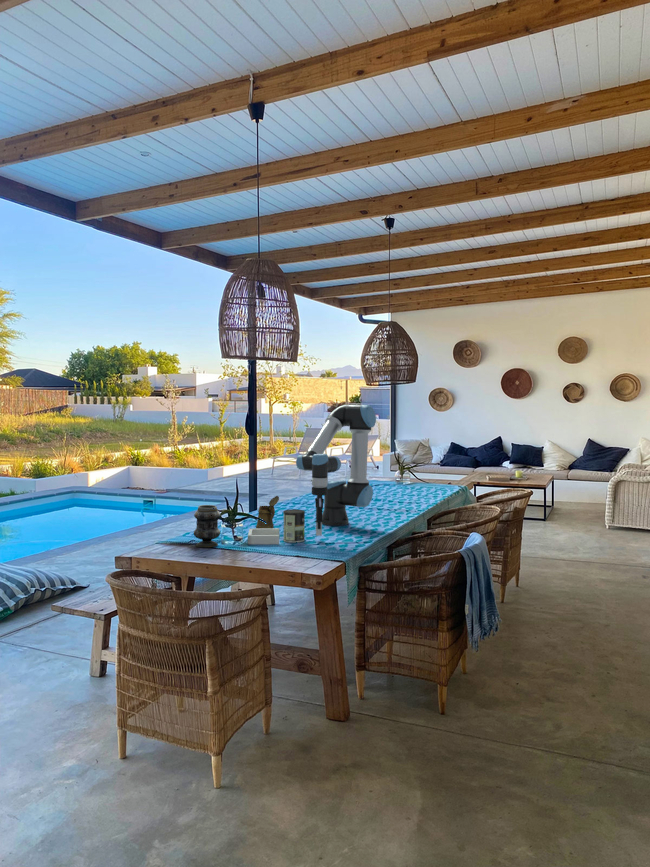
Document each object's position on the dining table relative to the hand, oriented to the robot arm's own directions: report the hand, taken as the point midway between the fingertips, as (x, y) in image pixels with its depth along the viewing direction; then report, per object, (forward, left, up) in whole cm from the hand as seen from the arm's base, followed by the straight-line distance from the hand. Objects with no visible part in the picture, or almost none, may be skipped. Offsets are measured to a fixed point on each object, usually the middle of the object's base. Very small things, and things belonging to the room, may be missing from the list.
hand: (318, 535), depth 296 cm
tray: (+25, 0, -2) cm, 26 cm away
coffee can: (+12, 0, -3) cm, 12 cm away
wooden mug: (+25, -27, -3) cm, 37 cm away
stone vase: (+52, +9, -3) cm, 53 cm away
